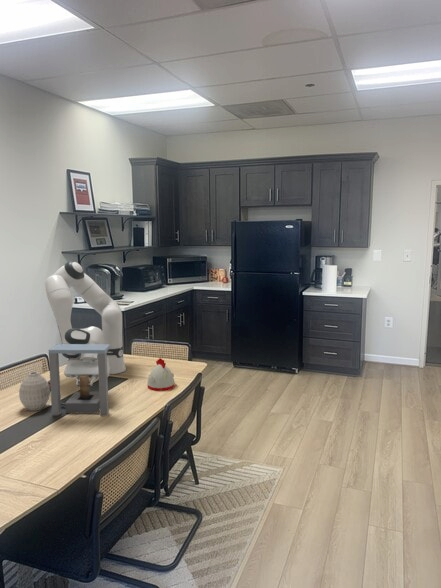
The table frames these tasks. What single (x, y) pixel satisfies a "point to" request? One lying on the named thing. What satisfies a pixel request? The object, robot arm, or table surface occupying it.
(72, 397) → the socket station
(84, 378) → the peg
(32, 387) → the vase
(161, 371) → the kitchen timer
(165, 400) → the table surface
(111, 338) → the robot arm
